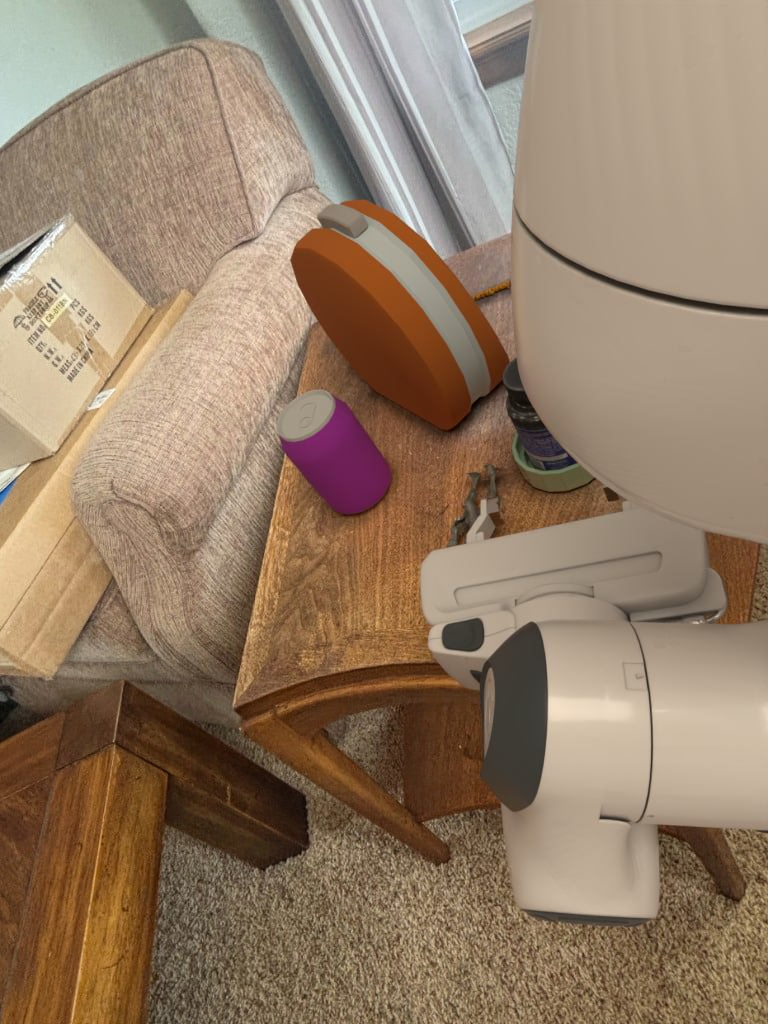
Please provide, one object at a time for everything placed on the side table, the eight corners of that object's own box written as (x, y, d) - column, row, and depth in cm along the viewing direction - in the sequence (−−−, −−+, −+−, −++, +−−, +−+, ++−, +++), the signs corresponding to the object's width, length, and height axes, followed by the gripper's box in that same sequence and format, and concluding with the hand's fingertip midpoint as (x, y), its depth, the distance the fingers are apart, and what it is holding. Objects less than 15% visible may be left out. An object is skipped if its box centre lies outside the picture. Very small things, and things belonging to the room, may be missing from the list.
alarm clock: (537, 380, 75) (456, 185, 59) (471, 446, 74) (369, 264, 58) (411, 325, 91) (320, 159, 75) (354, 379, 89) (249, 221, 74)
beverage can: (394, 508, 74) (337, 430, 65) (328, 527, 76) (265, 454, 68) (395, 452, 78) (342, 373, 70) (333, 472, 81) (274, 398, 73)
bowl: (598, 410, 69) (590, 388, 67) (624, 473, 64) (617, 451, 62) (514, 443, 72) (504, 423, 69) (532, 507, 66) (522, 487, 64)
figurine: (505, 449, 66) (479, 554, 59) (529, 475, 68) (507, 581, 61) (453, 469, 71) (423, 570, 63) (477, 493, 72) (451, 594, 65)
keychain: (453, 303, 89) (456, 311, 89) (451, 302, 88) (454, 310, 88) (515, 277, 86) (518, 285, 86) (514, 276, 85) (517, 285, 86)
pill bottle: (604, 470, 64) (571, 383, 57) (536, 489, 66) (496, 407, 59) (592, 421, 68) (561, 333, 60) (529, 440, 70) (490, 358, 63)
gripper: (728, 601, 42) (686, 427, 50) (405, 650, 50) (415, 493, 58) (739, 649, 46) (699, 482, 55) (441, 688, 54) (445, 536, 63)
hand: (550, 488), depth 57 cm, fingers open, 8 cm apart
